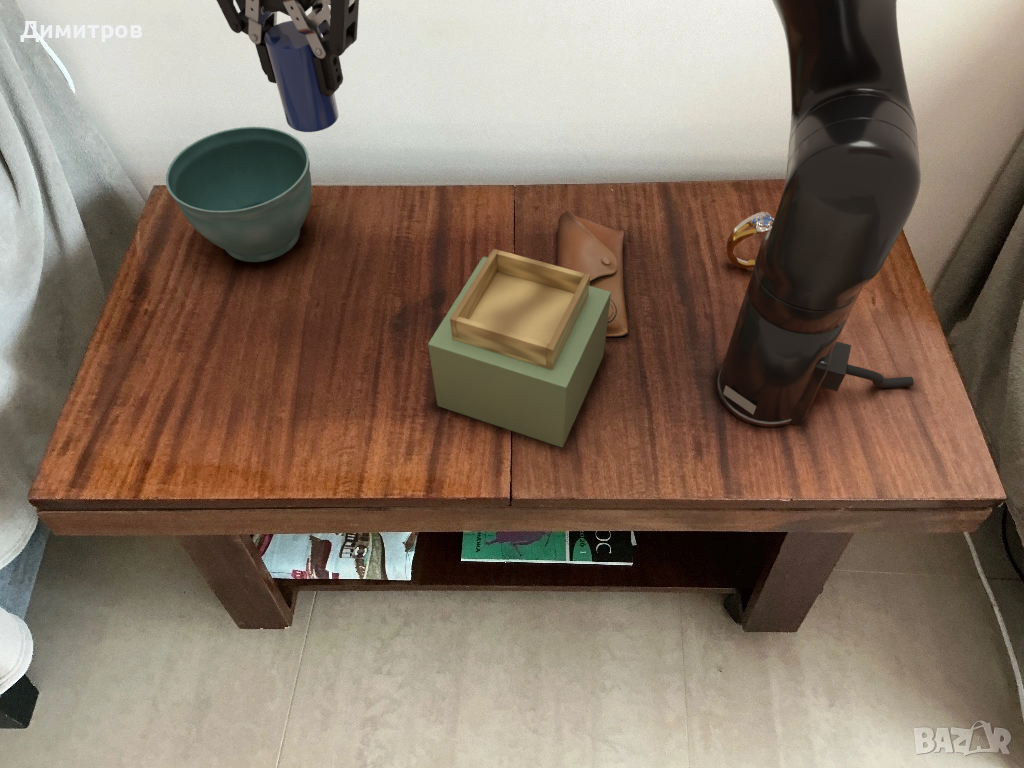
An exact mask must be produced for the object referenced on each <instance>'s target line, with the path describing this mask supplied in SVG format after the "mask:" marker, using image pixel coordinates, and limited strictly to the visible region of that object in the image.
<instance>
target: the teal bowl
mask: <svg viewBox="0 0 1024 768" xmlns="http://www.w3.org/2000/svg"><path fill="white" fill-rule="evenodd" d="M310 162H311V161H310V157H309V152H308V150H307V148H306V146H305V145H304V143H303V142H302V141H301V140H299V138H297V137H296V136H294V135H292V134H291V133H288V132H286V131H285V130H281V129H276V128H272V127H265V126H241V127H233V128H229V129H224V130H220V131H217V132H214V133H211V134H209V135H206V136H204V137H202V138H200V139H197V140H196V141H194V142H192V143H190V144H189V145H187V146H186V147H185V148H184V149H182V150H181V151H180V152H179V153H178V154H177V155H175V157H174V158H173V159H172V161H171V163H170V164H169V166H168V169H167V171H166V175H165V185H166V189H167V190H168V192H169V195H170V196H171V197H172V199H173V200H174V202H175V203H176V204H177V206H178V207H179V209H180V211H181V213H182V214H183V216H184V218H185V219H186V220H187V221H188V223H189V224H190V225H191V226H192V227H193V228H194V229H195V230H196V231H197V232H198V233H199V234H200V235H201V236H203V237H204V239H206V240H208V241H209V242H210V243H212V244H213V245H215V246H217V247H219V248H220V249H223V250H225V252H226V254H228V255H229V256H231V257H232V258H234V259H236V260H238V261H242V262H246V263H260V262H267V261H270V260H271V261H272V260H274V259H276V258H278V257H281V256H283V255H284V254H286V253H287V252H289V251H291V249H292V248H293V247H294V246H295V245H296V244H297V242H298V240H299V238H300V236H301V235H300V234H301V228H302V227H303V225H304V223H305V222H306V221H305V220H306V219H307V216H308V213H309V210H310V206H311V202H312V201H311V200H312V189H313V188H312V187H313V185H312V176H311V175H312V174H311V170H310V169H311V168H310V167H311V165H310V164H311V163H310Z"/></svg>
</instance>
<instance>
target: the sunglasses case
mask: <svg viewBox="0 0 1024 768" xmlns="http://www.w3.org/2000/svg"><path fill="white" fill-rule="evenodd" d="M557 222H558V223H557V242H556V243H557V244H556V245H557V246H556V247H557V248H556V251H557V253H556V266H559V267H562V268H566V269H570V270H573V271H577V272H581V273H584V274H588V275H590V285H589V286H592V287H595V288H599V289H602V290H606V291H610V292H611V297H610V306H609V314H608V322H607V330H606V338H618V337H625V336H626V335H628V334H629V323H628V315H627V308H626V307H627V306H626V299H625V288H624V285H625V284H624V283H625V282H624V259H623V255H624V252H623V251H624V237H625V236H624V235H625V230H622V229H614V228H611V227H608V226H605V225H602V224H599V223H597V222H594V221H590V220H588V219H585V218H582V217H580V216H577V215H574V214H573V212H572V211H570V210H569V211H568V210H567V211H564V212H563V213H562V214H561V215H560V216H559V218H558V221H557Z"/></svg>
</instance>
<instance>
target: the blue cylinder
mask: <svg viewBox="0 0 1024 768" xmlns="http://www.w3.org/2000/svg"><path fill="white" fill-rule="evenodd" d="M318 31H319V33H320V35H321V37H323V35H322V33H321V31H320V29H319V27H318ZM264 40H265V43H266V47H267V51H268V54H269V58H270V62H271V65H272V69H273V73H274V76H275V80H276V83H275V84H276V86H277V91H278V95H279V99H280V102H281V105H282V108H283V113H284V116H285V120H286V123H287V125H288V126H289V127H290V128H291V129H292V130H294V131H297V132H303V133H315V132H320V131H323V130H326V129H328V128H330V127H332V126H333V125H334V124H335V123H336V122H337V120H338V119H339V115H340V114H339V109H338V105H337V99H336V94H335V92H334V93H333V94H332V95H331V96H325V95H322V94H321V92H320V87H319V83H318V79H317V74H316V70H315V65H314V61H313V57H314V56H315V54H314V53H313V51H312V49H311V47H310V45H309V43H308V41H307V39H306V37H305V35H304V34H303V33H299V32H298V31H297V29H296V27H295V25H294V23H293V21H292V20H288V21H282V22H280V23H277V25H275V26H273V27H271V28H270V29H269V30H268V31H267V32H266V34H265V36H264Z"/></svg>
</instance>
